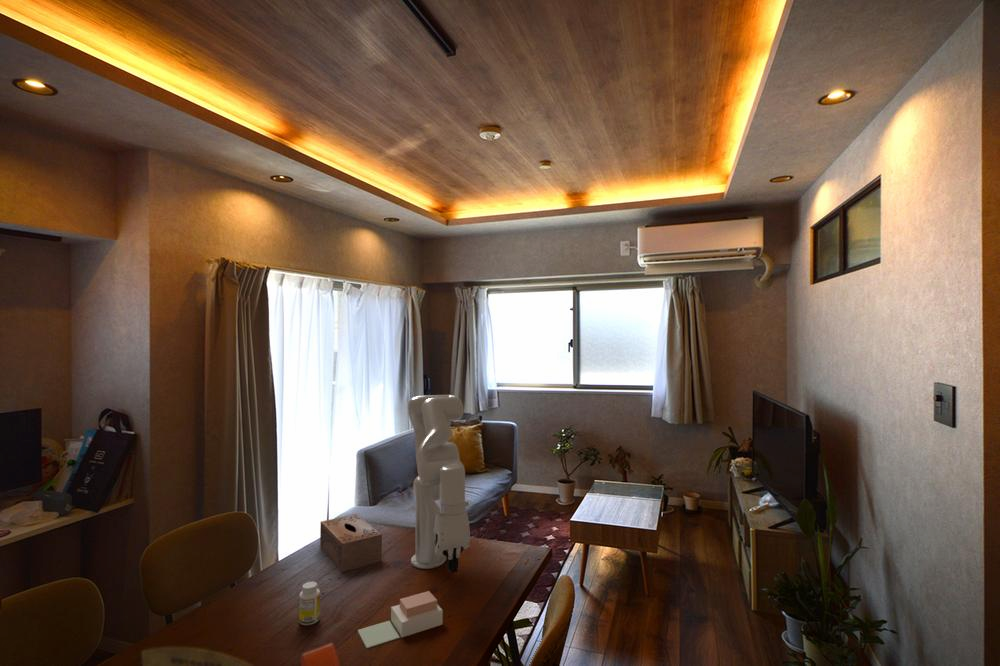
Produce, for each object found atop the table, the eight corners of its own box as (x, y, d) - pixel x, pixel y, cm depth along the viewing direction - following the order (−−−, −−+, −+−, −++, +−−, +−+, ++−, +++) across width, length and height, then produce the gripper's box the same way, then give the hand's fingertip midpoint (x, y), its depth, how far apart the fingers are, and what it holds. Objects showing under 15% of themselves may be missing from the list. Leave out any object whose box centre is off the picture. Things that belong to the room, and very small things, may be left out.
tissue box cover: (381, 561, 178) (381, 534, 179) (342, 572, 170) (342, 543, 170) (356, 538, 199) (356, 513, 199) (320, 547, 191) (320, 521, 191)
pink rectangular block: (428, 599, 145) (429, 590, 145) (437, 608, 140) (437, 600, 140) (399, 607, 140) (399, 599, 140) (406, 617, 135) (406, 608, 135)
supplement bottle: (313, 613, 144) (313, 578, 144) (323, 620, 141) (324, 584, 141) (295, 621, 140) (295, 585, 140) (305, 628, 136) (305, 591, 137)
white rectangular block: (430, 609, 146) (430, 595, 146) (442, 624, 139) (442, 610, 139) (390, 621, 140) (391, 607, 140) (401, 637, 133) (401, 622, 133)
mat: (389, 621, 140) (389, 620, 140) (399, 638, 132) (399, 636, 132) (357, 631, 135) (357, 629, 135) (366, 648, 128) (366, 647, 128)
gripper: (469, 500, 152) (469, 560, 152) (423, 508, 145) (423, 572, 144) (480, 507, 146) (480, 570, 145) (434, 516, 138) (434, 582, 138)
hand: (452, 570), depth 145 cm, fingers closed
